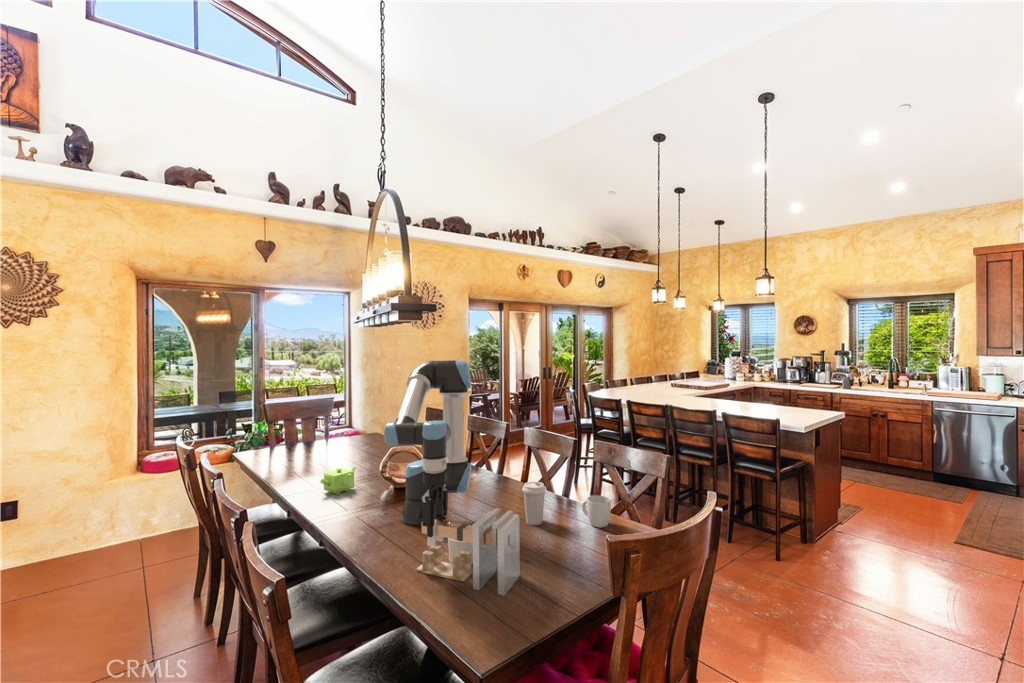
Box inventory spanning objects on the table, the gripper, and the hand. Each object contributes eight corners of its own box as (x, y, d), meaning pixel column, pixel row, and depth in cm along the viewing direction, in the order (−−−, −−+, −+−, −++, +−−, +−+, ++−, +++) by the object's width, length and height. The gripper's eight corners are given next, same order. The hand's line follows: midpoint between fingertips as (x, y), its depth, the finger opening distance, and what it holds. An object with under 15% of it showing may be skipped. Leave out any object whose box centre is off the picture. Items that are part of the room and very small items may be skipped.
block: (421, 533, 149) (421, 521, 149) (428, 529, 153) (427, 517, 153) (489, 546, 140) (488, 533, 140) (494, 541, 143) (494, 529, 143)
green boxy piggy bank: (357, 485, 235) (357, 463, 235) (353, 495, 221) (353, 471, 221) (326, 487, 232) (325, 465, 232) (320, 497, 218) (319, 473, 218)
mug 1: (466, 569, 149) (466, 544, 149) (441, 561, 155) (441, 537, 155) (490, 553, 160) (490, 529, 160) (466, 546, 166) (466, 523, 166)
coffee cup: (544, 527, 181) (544, 489, 181) (520, 525, 183) (520, 487, 183) (547, 518, 191) (547, 481, 191) (524, 516, 193) (524, 480, 193)
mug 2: (615, 524, 183) (615, 499, 183) (601, 531, 178) (600, 505, 177) (590, 515, 193) (589, 491, 193) (575, 521, 187) (575, 496, 187)
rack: (416, 571, 148) (416, 552, 148) (428, 561, 155) (428, 543, 155) (463, 581, 142) (463, 561, 142) (474, 570, 148) (474, 552, 148)
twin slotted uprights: (473, 588, 138) (472, 521, 137) (490, 569, 149) (490, 507, 149) (504, 595, 134) (503, 526, 134) (519, 575, 145) (519, 511, 145)
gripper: (430, 478, 140) (431, 556, 140) (458, 464, 155) (458, 534, 155) (409, 476, 143) (410, 552, 143) (438, 462, 158) (439, 531, 158)
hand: (435, 543), depth 149 cm, fingers closed on block, 4 cm apart
